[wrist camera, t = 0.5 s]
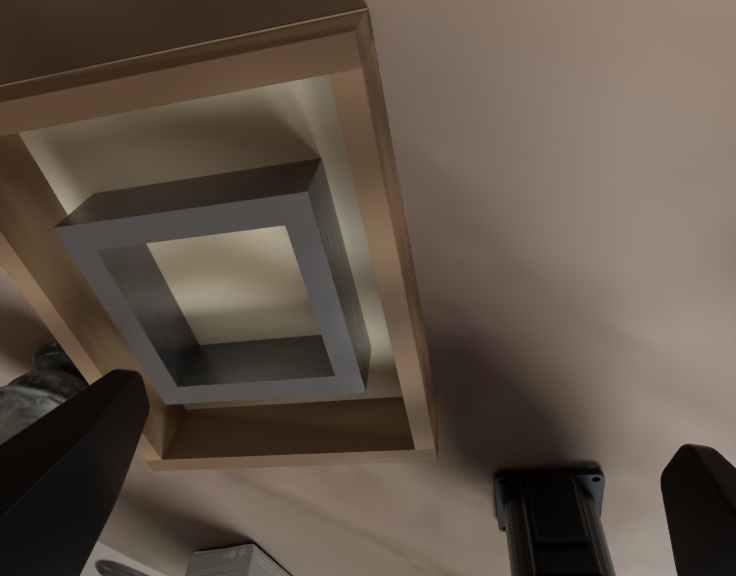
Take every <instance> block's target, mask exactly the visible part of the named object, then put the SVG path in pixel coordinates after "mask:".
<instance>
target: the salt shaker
mask: <svg viewBox="0 0 736 576" xmlns="http://www.w3.org/2000/svg"><path fill="white" fill-rule="evenodd" d="M32 363H33V368H34V371H32V372H29V373H26V374H24V375H22V376H20V377H18V378H16V379H14V380H13V381H12V382H10V383H9V384H8V385H6V386H3V387H0V444H1V443H3V442H4V441H6V440H7V439H9V438H10V437H12V436H13V435H15V434H16V433H18V432H19V431H21V430H22V429H24V428H25V427H27V426H28V425H30V424H31V423H33V422H34V421H36V420H37V419H39V418H40V417H42V416H44V415H45V414H47V413H48V412H50V411H51V410H53V409H54V408H56V407H57V406H59V405H60V404H62V403H63V402H65V401H66V400H68V399H69V398H71V397H72V396H74V395H75V394H77V393H78V392H80V391H81V390H83V389H84V388H86V387H87V386H89V383H88V382H87V381H86V379H85V378H84V376H83V375H82V374H81V372H80V371H79V370H78V368H77V367H76V366H75V364H74V363H73V362H72V360H71V359H70V357H69V356H68V355H67V353H66V352H65V351H64V349H63V348H62V347H61V345H60V344H59V343H50V344H47V345H44V346H42V347H41V348H39V349H38V350H37V351H36V352H35V354H34V356H33V358H32Z"/></svg>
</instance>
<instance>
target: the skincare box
mask: <svg viewBox="0 0 736 576" xmlns="http://www.w3.org/2000/svg"><path fill="white" fill-rule="evenodd" d="M185 576H290V575H289V574H288V573H287V572H286V571H285V570H283V569H282V568H281V567H280V566H279V565H278V564H276V563H275V562H274V561H273V560H272V559H270V558H269V557H268V556H267V555H266V554H265V553H263V552H262V551H261V550H260V549H259V548H258V547H257V546H255V545H254V544H246V545H240V546H234V547H229V548H224V549H216V550H208V551H197V552H194V553H193V555H192V556H191V558H190V561H189V564H188V567H187V570H186V574H185Z"/></svg>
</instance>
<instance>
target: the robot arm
mask: <svg viewBox="0 0 736 576" xmlns="http://www.w3.org/2000/svg"><path fill="white" fill-rule="evenodd" d="M149 410H150V403H149V398H148V395H147V391H146V387H145V383H144V379H143V376H142V374H141V373H140V372H139V371H135V370H127V369H114V370H112V371H110V372H108V373H107V374H105V375H104V376H102V377H101V378H99V379H98V380H96V381H95V382H93V383H92V384H90V385H89V386H87V387H86V388H84V389H83V390H81V391H80V392H78V393H77V394H75V395H74V396H72V397H71V398H69V399H68V400H66V401H65V402H63V403H62V404H60V405H59V406H57V407H56V408H54V409H53V410H51V411H50V412H48V413H47V414H45V415H44V416H42V417H40V418H39V419H37V420H36V421H34V422H33V423H31V424H30V425H28V426H27V427H25V428H24V429H22V430H21V431H19V432H18V433H16V434H15V435H13V436H12V437H10V438H9V439H7V440H6V441H4V442H3V443H1V444H0V576H80V574H81V572H82V570H83V568H84V566H85V564H86V562H87V560H88V558H89V556H90V554H91V552H92V550H93V548H94V546H95V544H96V542H97V540H98V538H99V536H100V534H101V532H102V530H103V528H104V526H105V524H106V522H107V520H108V518H109V516H110V514H111V512H112V510H113V507H114V505H115V503H116V501H117V499H118V496H119V494H120V491H121V489H122V486H123V483H124V481H125V478H126V475H127V472H128V470H129V467H130V464H131V462H132V459H133V456H134V454H135V451H136V448H137V445H138V443H139V440H140V437H141V435H142V432H143V429H144V426H145V424H146V421H147V418H148V415H149ZM494 483H495V493H496V504H497V515H498V525H499V530H501V531H503V532H506V535H507V543H508V551H509V559H510V567H511V576H616V574H615V571H614V567H613V564H612V560H611V556H610V553H609V549H608V546H607V542H606V538H605V535H604V531H603V528H602V524H601V520H600V516H601V508H602V500H603V491H604V483H605V477H604V474H603V471H602V470H600V469H570V470H537V471H505V472H498V473H496V474H495V475H494ZM661 491H662V496H663V502H664V507H665V512H666V518H667V523H668V529H669V534H670V539H671V545H672V550H673V556H674V561H675V566H676V571H677V575H678V576H736V468H735V467H734V466H733V465H732V464H731V463H730V462H729V461H727V460H726V459H725V458H724V457H723V456H722V455H721V454H720V453H719V452H718V451H716V450H715V449H713V448H711V447H708V446H702V445H695V444H685V445H683V446H681V447H680V448H679V450H678V451H677V452H676V454H675V455H674V456H673V458H672V459H671V461H670V462H669V463H668V465H667V466H666V467H665V469H664V470H663V472H662V475H661Z"/></svg>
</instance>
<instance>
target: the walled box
mask: <svg viewBox="0 0 736 576" xmlns="http://www.w3.org/2000/svg"><path fill="white" fill-rule="evenodd" d="M318 158H322V161H323V164H324V168H325V172H326V176H327V180H328V184H329V187H330V191H331V195H332V199H333V203H334V206H335V210H336V214H337V218H338V222H339V226H340V229H341V233H342V237H343V241H344V245H345V248H346V252H347V256H348V260H349V264H350V268H351V271H352V275H353V279H354V283H355V287H356V290H357V294H358V298H359V302H360V306H361V310H362V313H363V317H364V321H365V325H366V329H367V332H368V336H369V340H370V344H371V348H372V349H371V356H370V364H369V372H368V379H367V387H366V392H363V393H347V394H331V395H315V396H299V397H283V398H267V399H251V400H235V401H219V402H203V403H187V404H171V405H166V404H165V403H164V401H163V400H162V398H161V397H160V395H159V393H158V392H157V390H156V389H155V387H154V385H153V384H152V382H151V381H150V379H149V378H148V376H147V374H146V373H145V371H144V370H143V368H142V367H141V365H140V363H139V362H138V360H137V359H136V357H135V355H134V354H133V352H132V351H131V349H130V348H129V346H128V344H127V343H126V341H125V340H124V338H123V337H122V335H121V333H120V332H119V330H118V329H117V327H116V326H115V324H114V322H113V321H112V319H111V318H110V316H109V314H108V313H107V311H106V310H105V308H104V307H103V305H102V303H101V302H100V300H99V299H98V297H97V296H96V294H95V292H94V291H93V289H92V288H91V286H90V284H89V283H88V281H87V280H86V278H85V277H84V275H83V273H82V272H81V270H80V269H79V267H78V266H77V264H76V262H75V261H74V259H73V258H72V256H71V255H70V253H69V251H68V250H67V248H66V247H65V245H64V243H63V242H62V240H61V239H60V237H59V236H58V234H57V232H56V231H55V229H54V227H55V226H56V225H58V224H59V223H60V222H61V221H62V220H63V219H65V218H66V217H67V216H68V215H69V214H70V213H71V212H73V211H74V210H75V209H76V208H77V207H78V206H80V205H81V204H82V203H83V202H84V201H85V200H87V199H88V198H89V197H90V196H91V195H92V194H93V193H99V192H105V191H112V190H118V189H125V188H131V187H137V186H144V185H150V184H157V183H163V182H170V181H176V180H182V179H189V178H195V177H202V176H208V175H215V174H221V173H228V172H234V171H240V170H247V169H253V168H260V167H266V166H273V165H279V164H285V163H292V162H298V161H305V160H311V159H318ZM147 246H148V248H149V250H150V252H151V254H152V256H153V257H154V259H155V261H156V263H157V265H158V267H159V269H160V271H161V273H162V275H163V276H164V278H165V280H166V282H167V284H168V286H169V288H170V290H171V292H172V294H173V296H174V297H175V299H176V301H177V303H178V305H179V307H180V309H181V311H182V313H183V315H184V317H185V318H186V320H187V322H188V324H189V326H190V328H191V330H192V332H193V334H194V336H195V338H196V339H197V341H198V343H199V345H206V344H217V343H229V342H241V341H252V340H264V339H275V338H287V337H299V336H310V335H321V332H320V329H319V326H318V323H317V320H316V317H315V314H314V311H313V308H312V305H311V302H310V299H309V296H308V293H307V290H306V287H305V284H304V281H303V278H302V275H301V272H300V269H299V266H298V263H297V260H296V257H295V254H294V251H293V248H292V245H291V242H290V239H289V236H288V233H287V230H286V227H285V225H284V226H277V227H269V228H261V229H254V230H246V231H238V232H231V233H223V234H215V235H208V236H200V237H192V238H185V239H177V240H170V241H162V242H154V243H147ZM0 264H1V265H2V267H3V268H4V269H5V271H6V272H7V273H8V275H9V276H10V277H11V279H12V280H13V282H14V283H15V284H16V286H17V287H18V288H19V290H20V291H21V292H22V294H23V295H24V296H25V298H26V299H27V301H28V302H29V303H30V305H31V306H32V307H33V309H34V310H35V311H36V313H37V314H38V315H39V317H40V318H41V320H42V321H43V322H44V324H45V325H46V326H47V328H48V329H49V330H50V332H51V333H52V334H53V336H54V337H55V338H56V340H57V341H58V343H59V344H60V345H61V347H62V348H63V349H64V351H65V352H66V353H67V355H68V356H69V357H70V359H71V360H72V362H73V363H74V364H75V366H76V367H77V368H78V370H79V371H80V372H81V374H82V375H83V376H84V378H85V379H86V381H87V382H88V383H89V385H90V384H92V383H93V382H95V381H96V380H98V379H99V378H101V377H102V376H104V375H105V374H107V373H108V372H110V371H112V370H114V369H127V370H135V371H139V372H140V373H141V374H142V376H143V379H144V383H145V387H146V391H147V395H148V398H149V403H150V410H149V415H148V418H147V421H146V424H145V426H144V429H143V432H142V435H141V437H140V440H139V443H138V445H137V450H138V451H139V452H140V454H141V455H142V457H143V458H144V459H145V461H146V462H147V463H148V465H149V466H150V467H151V469H152V470H153V471H171V470H200V469H228V468H257V467H286V466H314V465H343V464H371V463H400V462H428V461H438V437H437V397H436V392H435V386H434V380H433V374H432V369H431V363H430V357H429V352H428V346H427V340H426V335H425V329H424V323H423V317H422V312H421V306H420V300H419V295H418V289H417V283H416V278H415V272H414V266H413V260H412V255H411V249H410V243H409V238H408V232H407V226H406V221H405V215H404V209H403V203H402V198H401V192H400V186H399V181H398V175H397V169H396V163H395V158H394V152H393V146H392V141H391V135H390V129H389V124H388V118H387V112H386V106H385V101H384V95H383V89H382V84H381V78H380V72H379V67H378V61H377V55H376V49H375V44H374V38H373V32H372V27H371V21H370V15H369V10H368V8H364V9H359V10H355V11H350V12H345V13H340V14H336V15H331V16H326V17H321V18H317V19H312V20H307V21H302V22H298V23H293V24H288V25H283V26H279V27H274V28H269V29H264V30H260V31H255V32H250V33H245V34H241V35H236V36H231V37H226V38H222V39H217V40H212V41H207V42H203V43H198V44H193V45H188V46H183V47H179V48H174V49H169V50H164V51H160V52H155V53H150V54H145V55H141V56H136V57H131V58H126V59H122V60H117V61H112V62H107V63H103V64H98V65H93V66H88V67H84V68H79V69H74V70H69V71H65V72H60V73H55V74H50V75H46V76H41V77H36V78H31V79H27V80H22V81H17V82H12V83H8V84H3V85H0Z"/></svg>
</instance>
